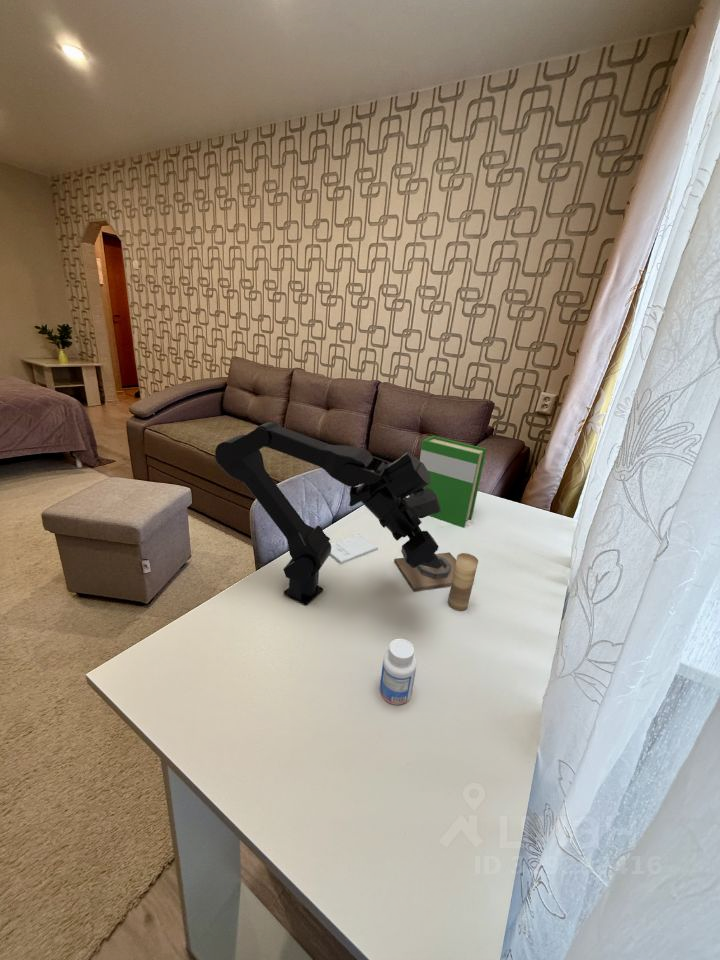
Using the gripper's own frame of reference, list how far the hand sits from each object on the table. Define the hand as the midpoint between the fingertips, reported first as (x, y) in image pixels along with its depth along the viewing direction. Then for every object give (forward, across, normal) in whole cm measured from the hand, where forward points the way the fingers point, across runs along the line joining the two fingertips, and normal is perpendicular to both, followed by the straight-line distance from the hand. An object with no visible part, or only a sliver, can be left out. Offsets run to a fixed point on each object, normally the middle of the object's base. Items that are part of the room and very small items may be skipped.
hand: (432, 553), depth 81 cm
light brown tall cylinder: (+15, 0, +4) cm, 16 cm away
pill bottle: (+2, -20, +18) cm, 27 cm away
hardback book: (+24, +42, -4) cm, 49 cm away
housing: (+14, +12, +5) cm, 19 cm away
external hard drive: (+1, +23, +19) cm, 30 cm away
